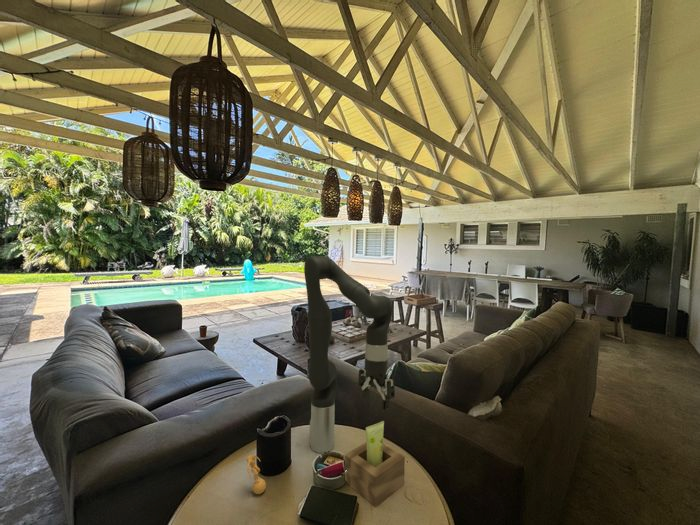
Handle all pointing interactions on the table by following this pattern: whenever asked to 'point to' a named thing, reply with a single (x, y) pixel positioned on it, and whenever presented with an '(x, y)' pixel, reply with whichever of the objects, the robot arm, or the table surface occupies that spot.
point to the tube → (375, 443)
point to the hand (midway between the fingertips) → (375, 405)
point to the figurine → (259, 483)
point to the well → (375, 473)
